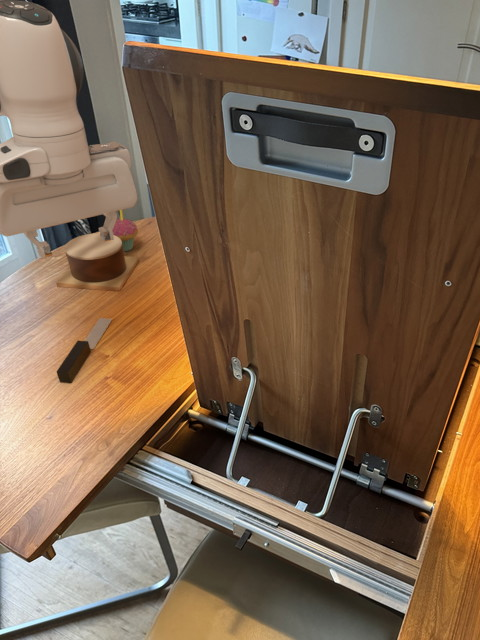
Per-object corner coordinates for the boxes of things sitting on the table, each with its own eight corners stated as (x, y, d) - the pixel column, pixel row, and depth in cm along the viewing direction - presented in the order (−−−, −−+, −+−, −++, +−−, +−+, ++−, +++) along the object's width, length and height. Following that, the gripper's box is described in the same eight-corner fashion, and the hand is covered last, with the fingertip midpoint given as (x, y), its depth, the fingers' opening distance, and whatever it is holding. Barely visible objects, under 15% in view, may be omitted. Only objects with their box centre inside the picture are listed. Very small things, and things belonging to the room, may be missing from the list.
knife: (72, 383, 88) (69, 372, 87) (58, 382, 88) (54, 371, 87) (112, 320, 103) (110, 310, 102) (99, 319, 103) (97, 309, 102)
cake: (57, 286, 113) (48, 257, 108) (82, 257, 123) (75, 229, 119) (119, 291, 112) (113, 261, 107) (139, 261, 123) (134, 233, 118)
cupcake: (122, 237, 132) (114, 190, 124) (148, 245, 129) (140, 198, 121) (97, 250, 126) (87, 202, 119) (123, 259, 123) (114, 210, 115)
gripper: (118, 134, 76) (132, 224, 84) (-34, 158, 66) (1, 256, 75) (136, 145, 72) (150, 238, 81) (-21, 172, 62) (13, 274, 71)
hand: (77, 247), depth 78 cm, fingers open, 8 cm apart
